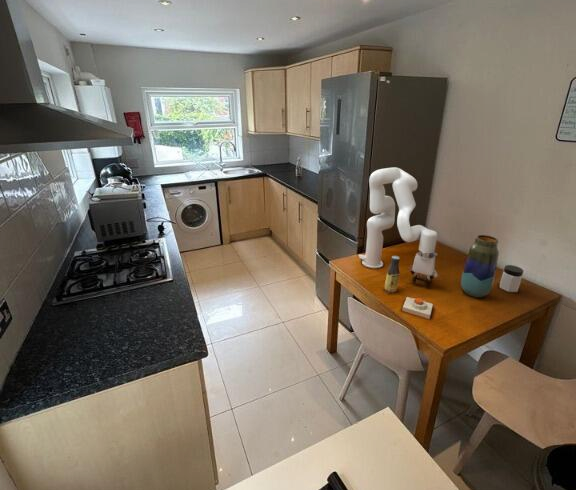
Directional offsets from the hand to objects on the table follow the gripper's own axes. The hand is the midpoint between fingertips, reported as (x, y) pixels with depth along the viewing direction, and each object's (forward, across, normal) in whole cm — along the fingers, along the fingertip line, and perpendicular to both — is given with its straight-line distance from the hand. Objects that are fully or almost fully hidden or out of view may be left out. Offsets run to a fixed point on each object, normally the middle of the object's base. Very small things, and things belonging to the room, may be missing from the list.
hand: (420, 283), depth 161 cm
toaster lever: (-4, 0, -5) cm, 6 cm away
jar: (+3, -41, -25) cm, 48 cm away
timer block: (+3, -2, +20) cm, 21 cm away
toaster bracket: (+3, 0, -8) cm, 8 cm away
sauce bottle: (+3, +13, +11) cm, 17 cm away
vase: (+3, -25, -10) cm, 27 cm away
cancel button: (-1, -2, +20) cm, 20 cm away
